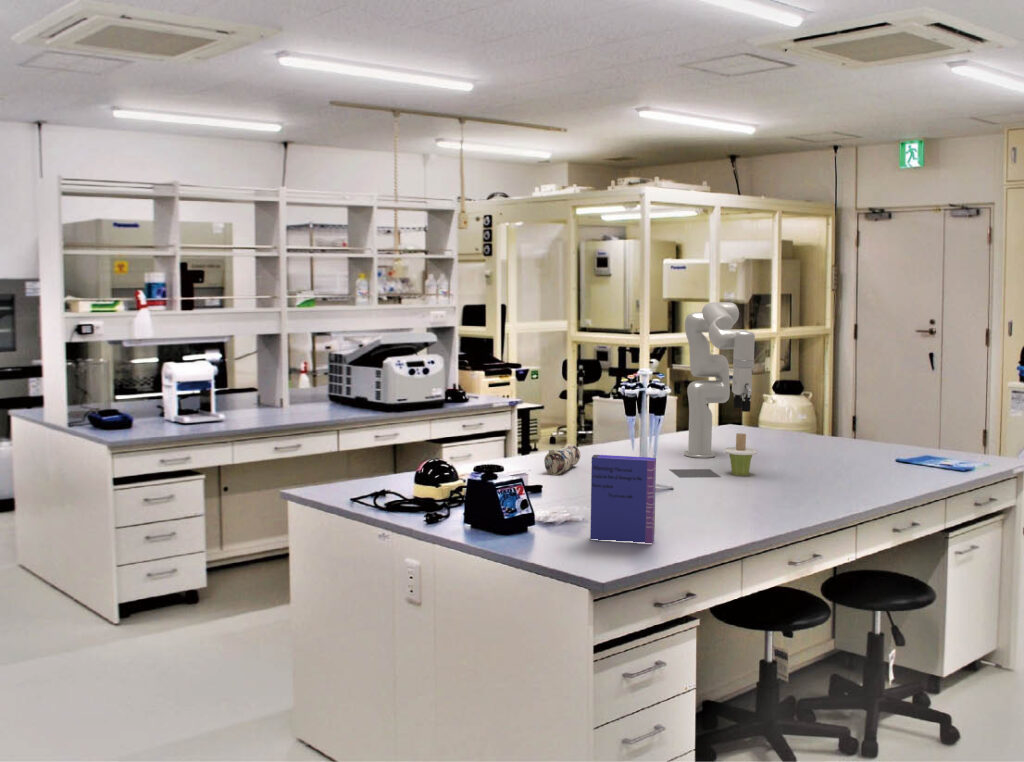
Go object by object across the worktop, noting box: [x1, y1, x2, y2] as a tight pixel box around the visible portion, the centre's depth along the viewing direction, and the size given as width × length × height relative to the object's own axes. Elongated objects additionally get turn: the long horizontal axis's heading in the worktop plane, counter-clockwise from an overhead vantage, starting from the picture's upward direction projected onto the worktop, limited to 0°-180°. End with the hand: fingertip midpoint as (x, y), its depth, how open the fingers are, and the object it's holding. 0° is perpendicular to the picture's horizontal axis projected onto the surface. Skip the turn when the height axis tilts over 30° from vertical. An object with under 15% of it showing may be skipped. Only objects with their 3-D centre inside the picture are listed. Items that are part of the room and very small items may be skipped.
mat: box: [668, 468, 722, 479], centre depth 388 cm, size 16×16×1 cm
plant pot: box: [728, 454, 753, 477], centre depth 388 cm, size 9×9×9 cm
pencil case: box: [544, 443, 581, 476], centre depth 394 cm, size 22×8×10 cm, turn 160°
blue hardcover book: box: [589, 454, 657, 544], centre depth 288 cm, size 17×5×24 cm, turn 75°
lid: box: [723, 432, 758, 456], centre depth 387 cm, size 12×12×7 cm
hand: (741, 409), depth 386 cm, fingers open, 9 cm apart
